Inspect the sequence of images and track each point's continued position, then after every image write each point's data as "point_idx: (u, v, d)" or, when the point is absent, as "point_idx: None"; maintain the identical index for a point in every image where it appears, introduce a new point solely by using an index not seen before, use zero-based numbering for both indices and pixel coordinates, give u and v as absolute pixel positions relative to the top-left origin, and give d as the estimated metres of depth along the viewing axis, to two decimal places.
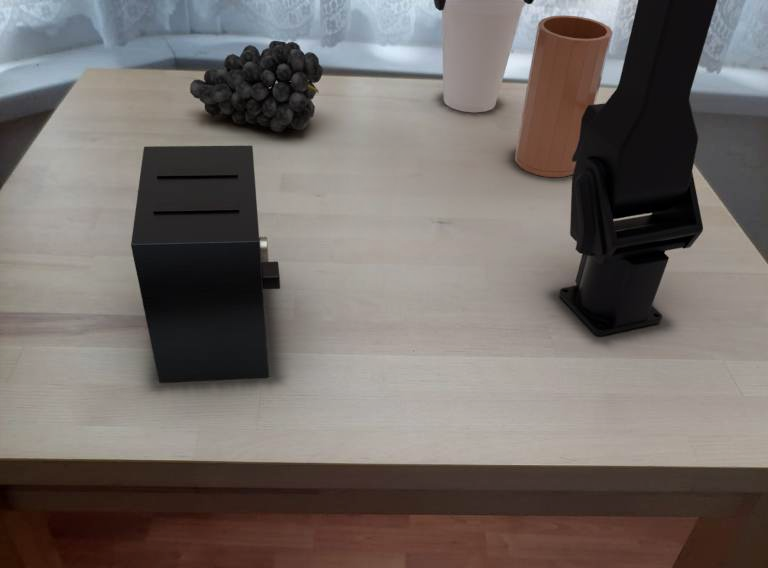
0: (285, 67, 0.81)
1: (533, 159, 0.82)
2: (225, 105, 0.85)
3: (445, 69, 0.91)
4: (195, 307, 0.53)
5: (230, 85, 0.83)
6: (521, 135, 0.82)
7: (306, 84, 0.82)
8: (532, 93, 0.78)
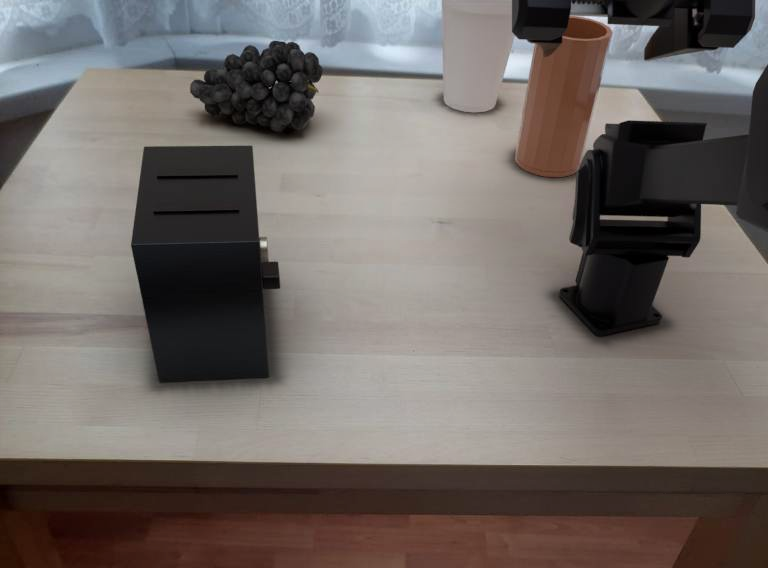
0: (285, 67, 0.81)
1: (533, 159, 0.82)
2: (225, 105, 0.85)
3: (445, 69, 0.91)
4: (195, 307, 0.53)
5: (230, 85, 0.83)
6: (521, 135, 0.82)
7: (306, 84, 0.82)
8: (532, 93, 0.78)
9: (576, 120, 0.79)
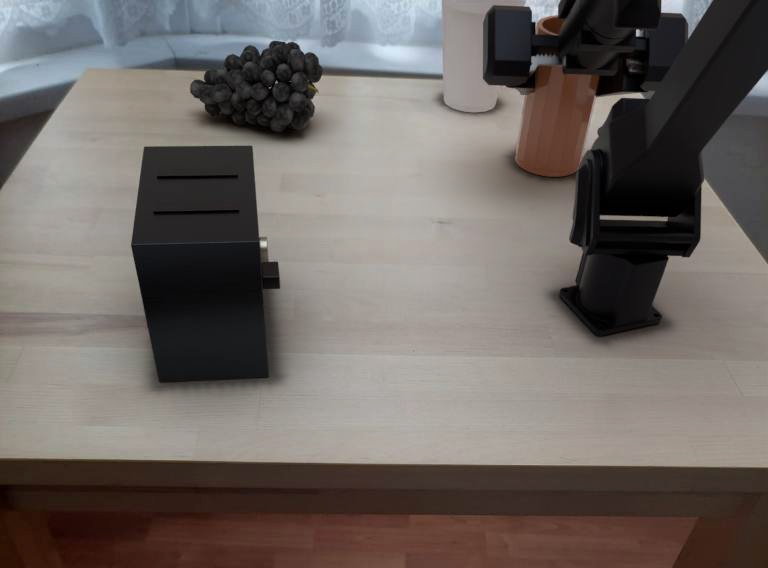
0: (285, 67, 0.81)
1: (533, 159, 0.82)
2: (225, 105, 0.85)
3: (445, 69, 0.91)
4: (195, 307, 0.53)
5: (230, 85, 0.83)
6: (521, 135, 0.82)
7: (306, 84, 0.82)
8: (531, 93, 0.78)
9: (575, 119, 0.79)
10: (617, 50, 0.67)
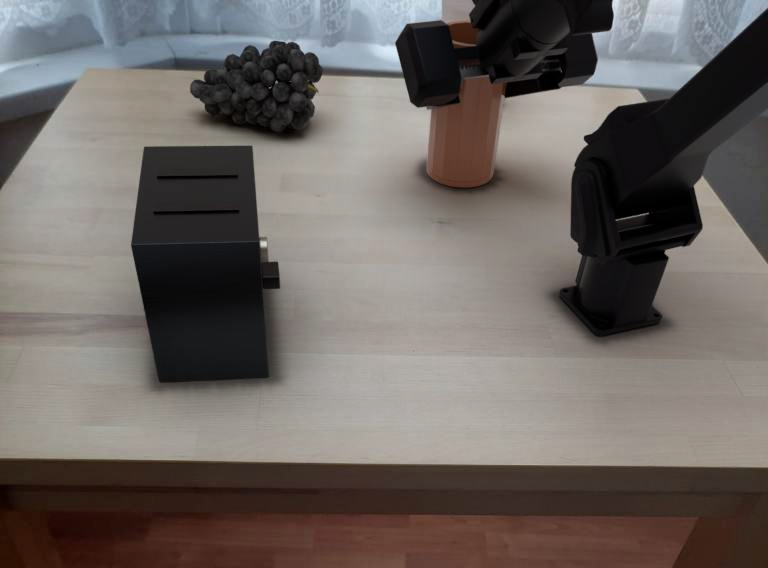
0: (285, 67, 0.81)
1: (453, 172, 0.79)
2: (225, 105, 0.85)
3: None
4: (195, 307, 0.53)
5: (230, 85, 0.83)
6: (435, 150, 0.79)
7: (306, 84, 0.82)
8: None
9: (492, 126, 0.76)
10: (550, 54, 0.66)
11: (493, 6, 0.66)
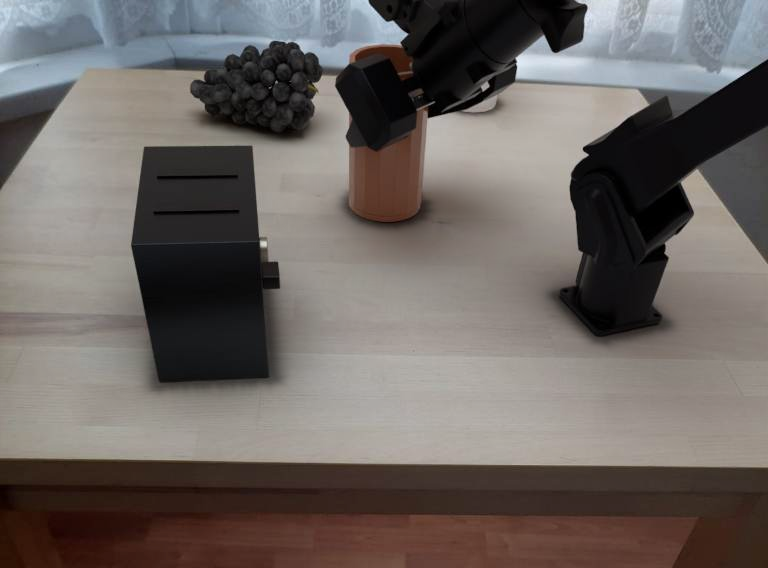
0: (285, 67, 0.81)
1: (391, 207, 0.73)
2: (225, 105, 0.85)
3: None
4: (195, 307, 0.53)
5: (230, 85, 0.83)
6: (366, 188, 0.72)
7: (306, 84, 0.82)
8: None
9: (422, 152, 0.72)
10: (501, 72, 0.62)
11: (432, 31, 0.61)
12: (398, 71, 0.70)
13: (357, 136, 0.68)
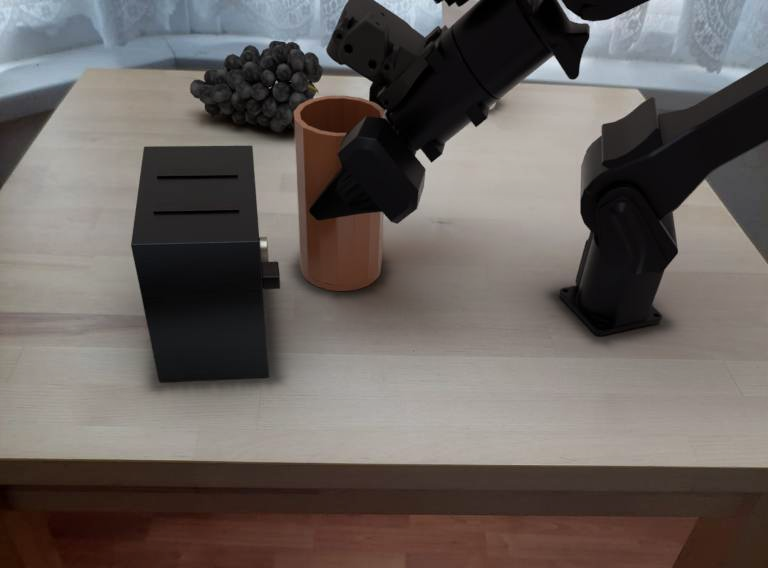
0: (285, 67, 0.81)
1: (365, 272, 0.66)
2: (225, 105, 0.85)
3: None
4: (195, 307, 0.53)
5: (230, 85, 0.83)
6: (338, 259, 0.64)
7: (306, 84, 0.82)
8: None
9: None
10: None
11: (415, 79, 0.54)
12: (332, 124, 0.62)
13: (331, 208, 0.60)
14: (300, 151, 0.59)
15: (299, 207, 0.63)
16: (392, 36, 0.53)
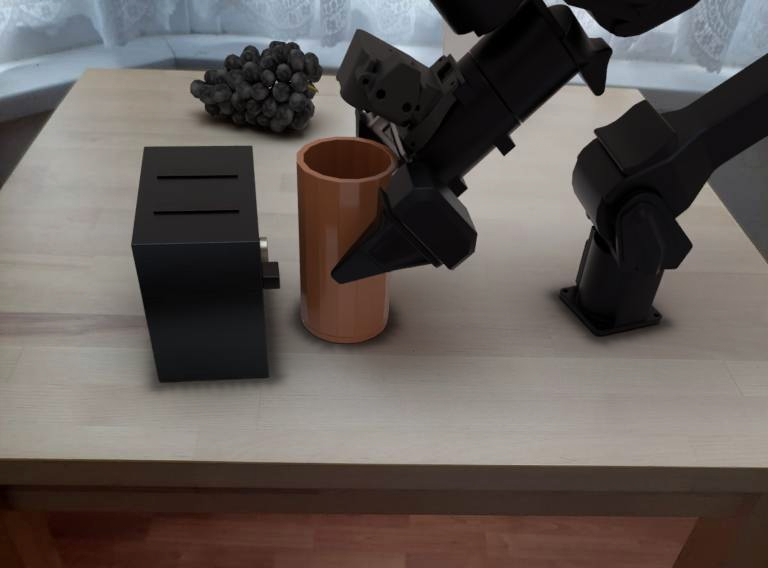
0: (285, 67, 0.81)
1: (381, 317, 0.62)
2: (225, 105, 0.85)
3: None
4: (195, 307, 0.53)
5: (230, 85, 0.83)
6: (357, 310, 0.59)
7: (306, 84, 0.82)
8: None
9: None
10: None
11: None
12: (326, 168, 0.57)
13: (359, 269, 0.54)
14: (312, 203, 0.54)
15: (308, 262, 0.58)
16: None
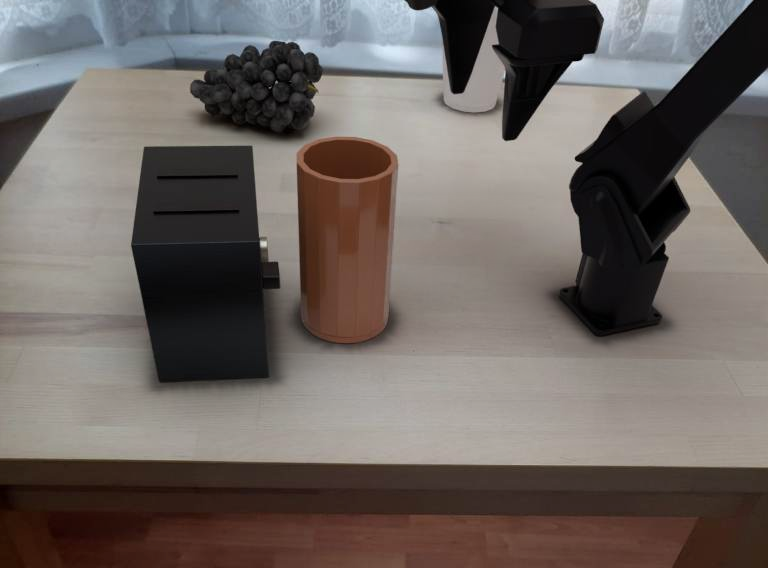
0: (285, 67, 0.81)
1: (381, 317, 0.62)
2: (225, 105, 0.85)
3: (445, 69, 0.91)
4: (195, 307, 0.53)
5: (230, 85, 0.83)
6: (357, 310, 0.59)
7: (306, 84, 0.82)
8: (367, 256, 0.56)
9: None
10: None
11: None
12: (326, 168, 0.57)
13: (522, 116, 0.58)
14: (312, 203, 0.54)
15: (308, 262, 0.58)
16: None
